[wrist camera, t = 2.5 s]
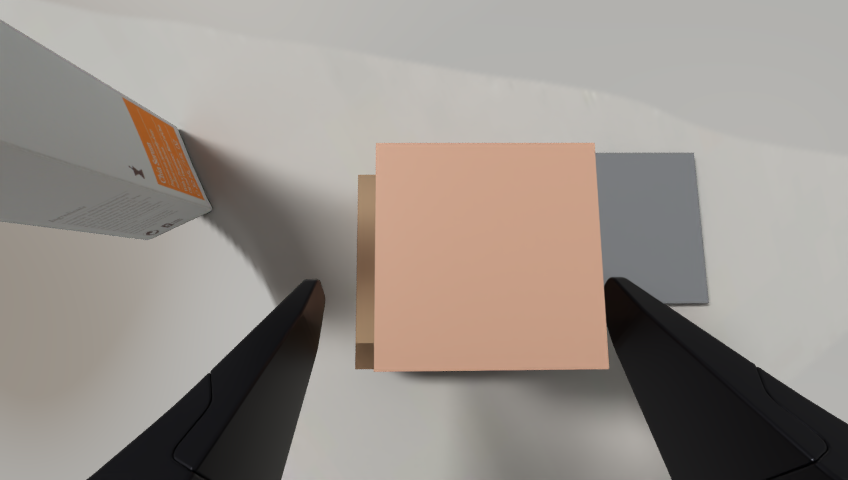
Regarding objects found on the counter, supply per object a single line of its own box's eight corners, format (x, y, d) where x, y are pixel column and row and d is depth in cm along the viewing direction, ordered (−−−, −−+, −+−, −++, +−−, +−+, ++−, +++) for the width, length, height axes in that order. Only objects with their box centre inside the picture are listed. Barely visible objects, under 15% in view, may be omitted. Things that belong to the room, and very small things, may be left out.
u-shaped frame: (522, 350, 18) (543, 367, 15) (366, 352, 18) (355, 369, 15) (516, 189, 19) (534, 174, 16) (368, 190, 18) (358, 174, 16)
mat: (702, 302, 18) (708, 303, 18) (551, 303, 18) (554, 304, 18) (687, 155, 19) (693, 152, 19) (544, 155, 19) (546, 153, 18)
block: (483, 303, 18) (608, 369, 6) (404, 304, 18) (373, 372, 6) (481, 225, 18) (594, 142, 6) (404, 226, 18) (375, 142, 6)
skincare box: (217, 210, 18) (-161, 96, 6) (150, 242, 18) (-375, 185, 6) (179, 123, 19) (-239, -134, 7) (113, 152, 19) (-439, -60, 7)
